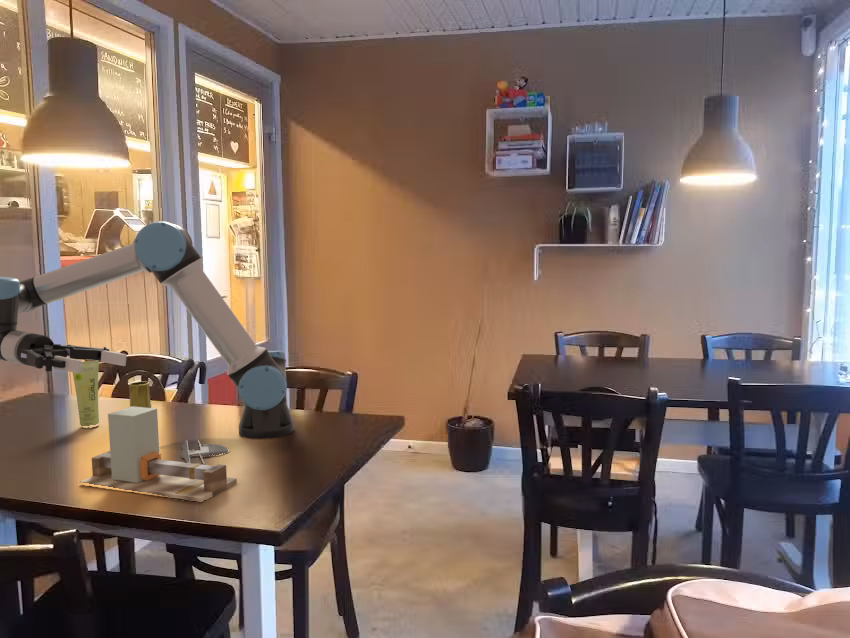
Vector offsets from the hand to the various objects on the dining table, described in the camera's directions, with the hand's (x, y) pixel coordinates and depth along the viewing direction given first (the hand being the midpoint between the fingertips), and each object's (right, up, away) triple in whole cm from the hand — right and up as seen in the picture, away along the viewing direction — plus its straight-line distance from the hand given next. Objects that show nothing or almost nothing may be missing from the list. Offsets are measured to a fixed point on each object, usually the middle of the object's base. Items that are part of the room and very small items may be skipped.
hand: (103, 363), depth 147 cm
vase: (-8, -22, +38) cm, 44 cm away
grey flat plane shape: (+15, -25, +18) cm, 34 cm away
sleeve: (+9, -25, -1) cm, 26 cm away
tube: (-26, -22, +44) cm, 56 cm away
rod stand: (+14, -26, -3) cm, 30 cm away
